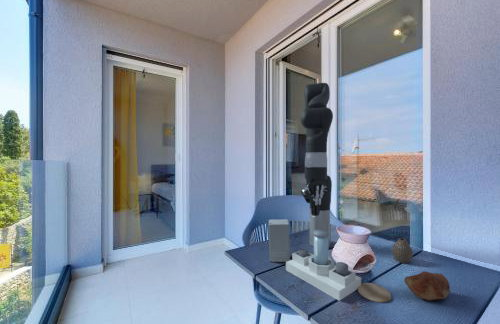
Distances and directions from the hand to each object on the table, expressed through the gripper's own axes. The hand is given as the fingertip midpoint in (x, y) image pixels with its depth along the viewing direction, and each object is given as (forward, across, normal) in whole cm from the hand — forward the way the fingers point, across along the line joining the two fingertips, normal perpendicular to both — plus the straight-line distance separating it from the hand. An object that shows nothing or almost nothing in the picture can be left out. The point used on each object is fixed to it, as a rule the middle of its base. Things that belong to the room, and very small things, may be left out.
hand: (315, 215), depth 79 cm
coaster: (+22, -8, +17) cm, 28 cm away
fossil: (+22, -20, +26) cm, 39 cm away
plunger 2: (+17, -1, +10) cm, 20 cm away
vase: (+21, -38, +12) cm, 45 cm away
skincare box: (+22, +1, -17) cm, 28 cm away
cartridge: (+19, -1, +2) cm, 19 cm away
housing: (+22, -1, +2) cm, 22 cm away
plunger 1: (+18, -1, -6) cm, 19 cm away
